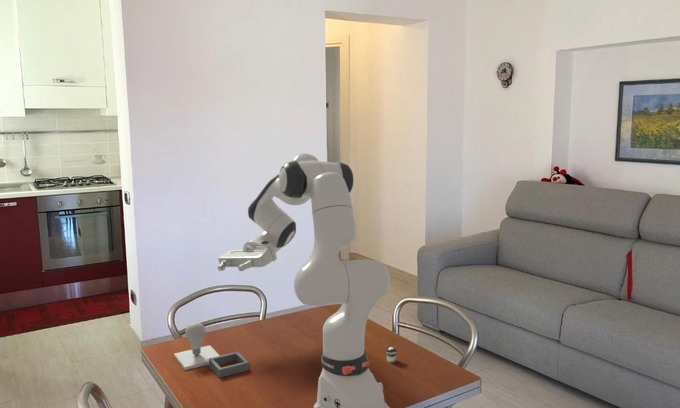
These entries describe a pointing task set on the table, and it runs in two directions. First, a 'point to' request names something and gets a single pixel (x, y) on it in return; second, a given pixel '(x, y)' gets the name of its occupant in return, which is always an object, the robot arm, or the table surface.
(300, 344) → the table surface
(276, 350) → the table surface
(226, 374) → the frame
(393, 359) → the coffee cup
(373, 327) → the table surface
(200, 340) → the lightbulb
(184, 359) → the mat
